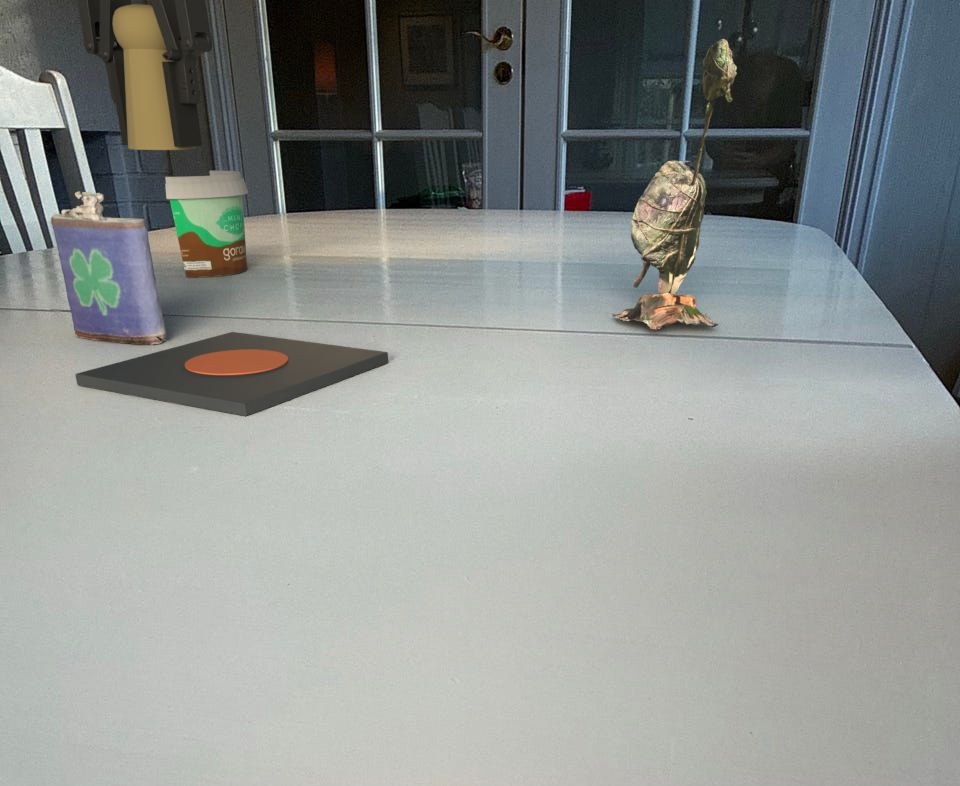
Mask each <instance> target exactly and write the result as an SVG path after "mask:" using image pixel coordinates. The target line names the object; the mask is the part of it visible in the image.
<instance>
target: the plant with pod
mask: <svg viewBox="0 0 960 786" xmlns="http://www.w3.org/2000/svg"><path fill="white" fill-rule="evenodd" d="M733 56H734V55H733V51H732V50H731V48H730V46H729V43H728V40H726V39H725V38H722V39H719V40H718V41H716V42H715V43H713V44H712V45H711V46H710V47H709V48H708V50H707V52H706V55H705V57H704V59H703V60H702V65H701V66H702V67H703V68H702V92H703V96H704V98H705V100H706V101H708V103H707V104H706V109H705V114H704V115H705V116H704V117H705V120H704V122H705V123H704V127H703V132H702V136H701V139H700V143H699V146H698V150H697V155H696V161H695V165H694V170H693V169H692V168H691V167H690V166H689V165H686V163H690V162H691V160H684V161H682V160H668V161H667V162H665V163H664V164H663V165H662V166H661V167H660V169H658V172H656V173H655V174H654V176H653V177H652V178H651V179H650V181H649V183H648V185H647V186H646V188H645V189H644V191H643V193H642V195H641V196H640V197H639V198H638V200H637V203H636V206H635V207H634V211H633V215H632V217H631V220H630V221H631V222H630V239H631V241H632V244H633V247H634V250H636V251H637V253H638V254H640V255H641V257H640V259H641V260H642V261H643V262H642V270H641V272H640V274H638V275H637V277H636V278H635V279H634V280H633V284H632V287H633V288H638V287H639V286H640V284H641V283H642V281H643V280H644V278H645V277H646V275H647V273H648V271H649V269H650V267H654V268H655V269H657V270H658V273H659V274H658V283H657V284H658V286H657V291H658V293H647V294H643V295H641V296H640V297H639V299H638V301H637V303H636V305H635V306H634V307H632V308H626V309H623V311H622V312H621V313H617V314H615V313H612V316H611V317H615V319H616V320H620V321H621V320H622V321H623V322H625V321H627V322H630V321H633V320H634V321H636V322H642V323H644V324H646V325H647V326H648V327H649V329H651V330H659V329H663V327H668V326H670V325H672V324H675V323H678V322H679V323H681V324H684V323H685V324H686V325H690V324H691V325H693V326H697V325H698V326H701V325H703V326H706V327H708V328H715V327H716V328H717V326H719V325H720V323H716V322H715V323H713V322H714V320H712V318H711V316H709V315H707V313H705V314H704V313H703V312H701V311H699V309H698V307H697V299H696V297H695V296H693V295H691V294H681V293H678V291H679V288H680V287H681V285H682V283H683V282H684V280H685V278H686V277H687V275H688V273H689V271H690V270H691V268H692V266H693V265H694V263H695V260H696V253H697V250H698V249H699V248H700V235H701V234H700V233H701V226H702V223H703V219H704V213H705V207H706V202H705V201H706V196H707V194H708V192H707V182H706V181H705V180H704V177H703V175H702V174H701V173H699V171H700V170H699V169H700V163H701V159H702V155H703V148H704V146H705V140H706V139H705V138H706V137H707V133H708V130H709V126H710V122H711V118H712V115H713V112H714V107H715V101H716V100H718V99H719V98H721V97H723V96H724V97H725V99H726V101H727V102H728V103H731V102H732V101H733V97H732V94H731V87H732V86H733V84H734V82H735V78H736V76H737V73H738V72H737V69H738V67H737V65H736V64H735V61H734V60H733Z"/></svg>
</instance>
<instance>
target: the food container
mask: <svg viewBox="0 0 960 786" xmlns="http://www.w3.org/2000/svg"><path fill="white" fill-rule="evenodd" d="M164 178H165V184H164V185H165V196H166V200H169V202H170V203H169V204H170V208H171V213H172V219H173V222H174V227H175V231H176V236H177V242H178V246H179V250H180V255H181V260H182V264H183V265H182V266H183V269H184V274H185V275H184V276H185V278H211V277H223V276H224V277H225V276H231V275H236V274H240V273H245V272H246V271H247V270H248V261H247V246H246V231H245V230H246V227H245V213H244V200H243V199H244V197H243V196H244V195H247V194H249V191H248V187H247V185H246V182H245V178H242V174H241V172H240V171H237V170H209V175H197V176H196V175H195V176H194V175H193V176H165V177H164Z"/></svg>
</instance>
